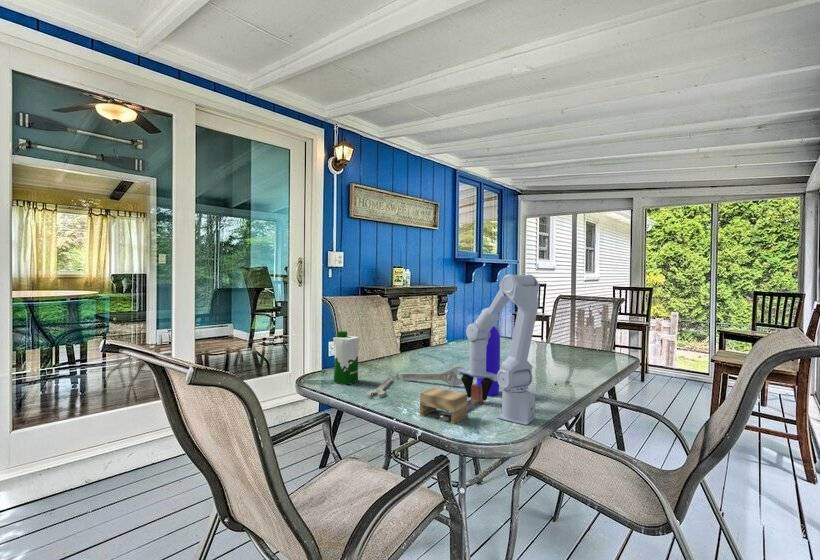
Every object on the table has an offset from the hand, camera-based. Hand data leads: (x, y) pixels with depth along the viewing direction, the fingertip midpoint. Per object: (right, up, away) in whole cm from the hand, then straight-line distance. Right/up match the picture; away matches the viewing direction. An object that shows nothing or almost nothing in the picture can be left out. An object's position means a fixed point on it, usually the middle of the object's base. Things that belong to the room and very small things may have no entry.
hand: (477, 398), depth 144 cm
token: (-12, -2, -17) cm, 21 cm away
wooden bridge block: (-13, -2, -14) cm, 19 cm away
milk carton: (-49, -1, +25) cm, 55 cm away
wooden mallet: (-4, -1, -6) cm, 7 cm away
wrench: (-15, -1, +24) cm, 28 cm away
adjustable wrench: (-33, -1, +15) cm, 36 cm away
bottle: (+6, -2, +12) cm, 13 cm away
